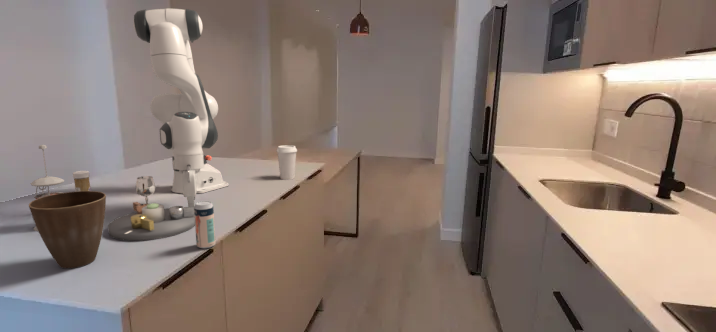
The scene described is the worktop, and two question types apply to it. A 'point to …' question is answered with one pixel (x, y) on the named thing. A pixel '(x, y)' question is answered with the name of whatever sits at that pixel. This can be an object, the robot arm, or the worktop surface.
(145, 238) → the tribrach
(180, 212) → the knob steel
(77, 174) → the sprinkles bottle
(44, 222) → the plant pot
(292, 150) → the coffee cup
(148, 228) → the knob brass
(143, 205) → the knob copper
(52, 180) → the vented spool lamp
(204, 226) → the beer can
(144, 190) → the wineglass
